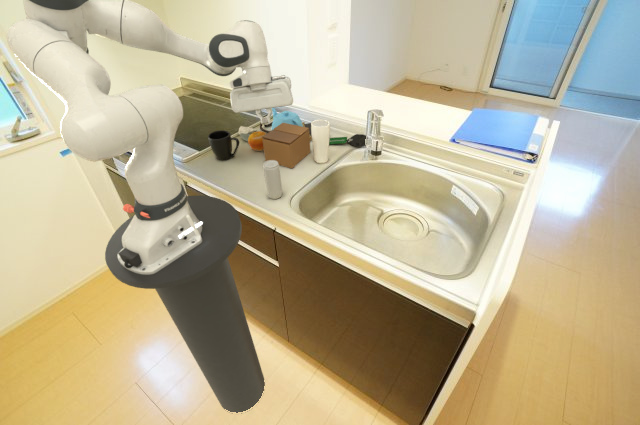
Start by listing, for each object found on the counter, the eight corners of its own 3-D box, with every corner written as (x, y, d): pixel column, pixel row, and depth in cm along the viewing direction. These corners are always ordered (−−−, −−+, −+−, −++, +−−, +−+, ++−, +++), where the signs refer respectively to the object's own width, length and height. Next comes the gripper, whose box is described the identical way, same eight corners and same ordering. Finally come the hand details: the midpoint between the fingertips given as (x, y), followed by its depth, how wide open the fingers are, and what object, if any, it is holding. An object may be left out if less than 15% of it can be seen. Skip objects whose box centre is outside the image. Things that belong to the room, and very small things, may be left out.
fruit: (251, 134, 132) (252, 123, 124) (271, 141, 133) (273, 130, 126) (245, 150, 128) (245, 140, 121) (265, 157, 130) (267, 148, 122)
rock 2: (358, 140, 135) (360, 151, 134) (345, 140, 131) (347, 151, 130) (371, 131, 127) (374, 143, 126) (358, 130, 123) (360, 142, 123)
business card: (345, 143, 128) (347, 137, 132) (345, 142, 128) (347, 136, 132) (325, 144, 131) (327, 138, 134) (325, 144, 131) (327, 138, 134)
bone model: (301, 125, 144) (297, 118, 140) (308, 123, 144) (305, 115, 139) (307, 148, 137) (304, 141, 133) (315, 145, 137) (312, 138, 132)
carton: (292, 168, 116) (289, 143, 110) (265, 161, 121) (261, 136, 114) (310, 152, 126) (309, 127, 120) (285, 146, 130) (282, 122, 124)
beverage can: (285, 196, 103) (281, 164, 95) (272, 201, 101) (267, 169, 93) (278, 189, 106) (274, 158, 98) (265, 194, 104) (260, 162, 96)
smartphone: (329, 136, 136) (318, 123, 148) (329, 134, 136) (317, 121, 147) (313, 139, 135) (303, 125, 146) (312, 137, 134) (302, 124, 145)
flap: (289, 144, 110) (289, 143, 110) (262, 137, 115) (262, 136, 114) (299, 136, 115) (299, 135, 115) (272, 130, 120) (272, 129, 119)
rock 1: (237, 135, 135) (246, 130, 137) (238, 139, 136) (247, 134, 139) (251, 142, 130) (260, 137, 133) (252, 146, 132) (260, 141, 135)
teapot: (281, 101, 140) (309, 111, 130) (283, 124, 147) (310, 135, 137) (258, 109, 133) (287, 121, 123) (262, 133, 140) (289, 145, 130)
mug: (236, 165, 119) (230, 142, 113) (209, 160, 123) (203, 137, 117) (247, 155, 125) (242, 132, 119) (221, 150, 128) (216, 128, 123)
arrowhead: (259, 133, 140) (250, 127, 147) (258, 129, 139) (249, 122, 145) (242, 138, 137) (234, 131, 143) (241, 133, 135) (232, 127, 142)
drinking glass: (309, 163, 119) (307, 125, 110) (316, 155, 124) (315, 118, 115) (326, 166, 117) (326, 128, 108) (332, 157, 122) (332, 120, 113)
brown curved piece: (258, 137, 144) (279, 140, 142) (255, 128, 139) (276, 131, 137) (268, 118, 151) (288, 120, 148) (266, 108, 146) (286, 111, 144)
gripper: (291, 74, 102) (298, 118, 106) (232, 84, 105) (240, 126, 109) (287, 73, 96) (294, 119, 101) (224, 83, 99) (234, 128, 104)
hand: (266, 123), depth 105 cm, fingers closed
